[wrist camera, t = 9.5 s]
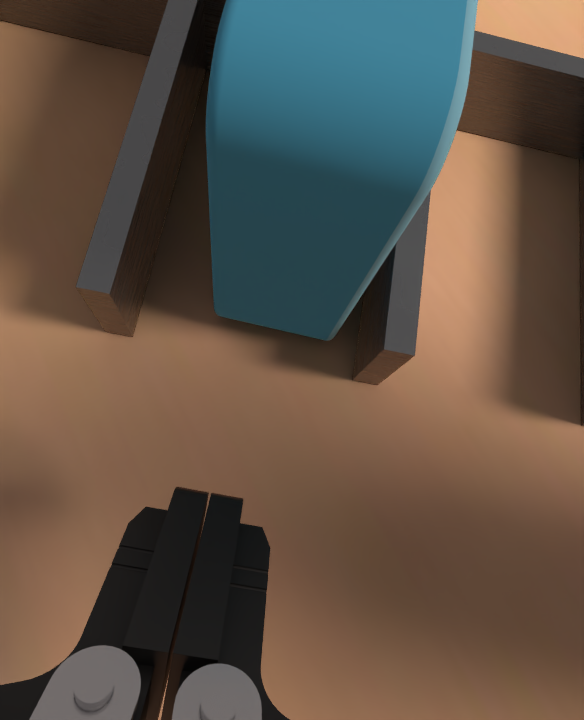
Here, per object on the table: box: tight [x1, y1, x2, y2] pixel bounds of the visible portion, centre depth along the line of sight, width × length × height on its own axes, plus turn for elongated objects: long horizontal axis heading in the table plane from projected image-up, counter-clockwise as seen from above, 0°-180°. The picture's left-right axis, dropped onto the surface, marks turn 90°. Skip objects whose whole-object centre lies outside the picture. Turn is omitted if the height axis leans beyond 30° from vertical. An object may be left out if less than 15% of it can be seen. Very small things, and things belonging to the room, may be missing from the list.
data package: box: [206, 0, 478, 341], centre depth 16 cm, size 12×4×12 cm, turn 169°
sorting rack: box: [0, 0, 584, 425], centre depth 17 cm, size 30×14×9 cm, turn 81°
